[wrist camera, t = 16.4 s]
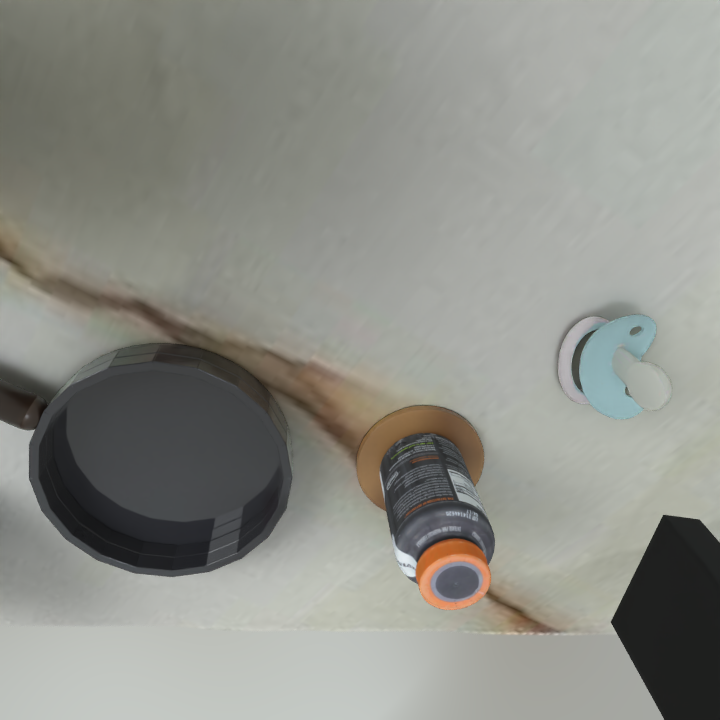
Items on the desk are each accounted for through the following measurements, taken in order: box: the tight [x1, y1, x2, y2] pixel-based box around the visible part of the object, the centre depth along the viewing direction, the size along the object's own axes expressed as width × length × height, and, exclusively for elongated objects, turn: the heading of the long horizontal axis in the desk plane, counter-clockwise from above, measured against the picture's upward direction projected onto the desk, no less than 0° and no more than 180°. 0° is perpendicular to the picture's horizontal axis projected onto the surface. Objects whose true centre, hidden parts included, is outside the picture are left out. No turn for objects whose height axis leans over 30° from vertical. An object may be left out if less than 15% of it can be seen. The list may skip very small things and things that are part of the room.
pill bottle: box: [380, 433, 495, 610], centre depth 40 cm, size 6×6×11 cm
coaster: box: [356, 406, 484, 511], centre depth 45 cm, size 9×9×1 cm
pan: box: [29, 343, 293, 577], centre depth 42 cm, size 16×16×3 cm
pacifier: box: [558, 315, 672, 419], centre depth 40 cm, size 7×6×6 cm
